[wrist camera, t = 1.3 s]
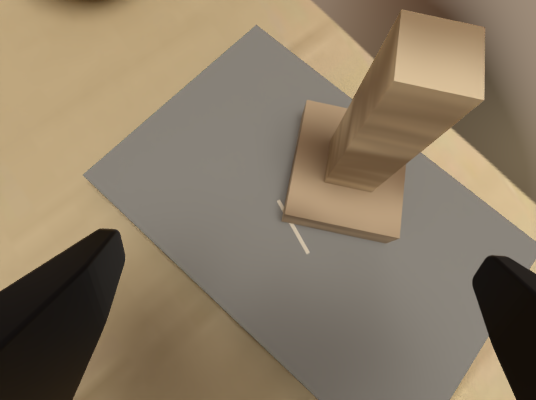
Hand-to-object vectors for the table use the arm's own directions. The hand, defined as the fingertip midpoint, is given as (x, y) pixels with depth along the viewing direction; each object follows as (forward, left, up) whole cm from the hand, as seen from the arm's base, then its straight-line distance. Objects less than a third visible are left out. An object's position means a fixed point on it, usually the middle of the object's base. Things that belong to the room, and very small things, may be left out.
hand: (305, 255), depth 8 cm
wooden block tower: (+1, -8, -13) cm, 15 cm away
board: (+1, -5, -14) cm, 15 cm away
